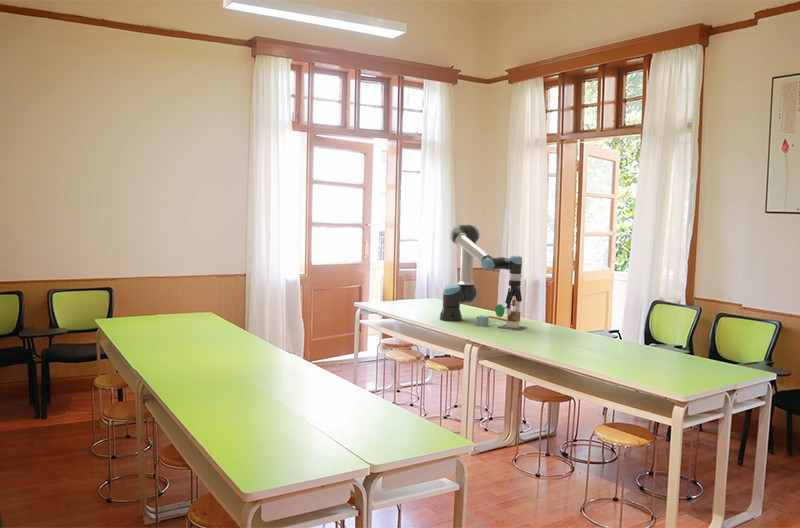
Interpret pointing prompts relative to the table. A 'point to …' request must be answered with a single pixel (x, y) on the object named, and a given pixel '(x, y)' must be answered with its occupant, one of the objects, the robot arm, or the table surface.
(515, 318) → the walnut brick
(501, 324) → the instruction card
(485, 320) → the teal brick
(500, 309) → the crank mechanism
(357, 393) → the table surface
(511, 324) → the mat
